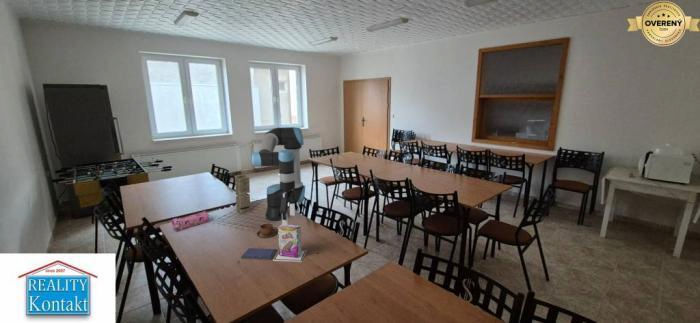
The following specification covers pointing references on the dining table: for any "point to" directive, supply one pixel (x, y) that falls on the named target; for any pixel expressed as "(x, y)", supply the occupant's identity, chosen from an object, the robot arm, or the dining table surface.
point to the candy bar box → (289, 240)
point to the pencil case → (190, 221)
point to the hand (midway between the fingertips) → (289, 220)
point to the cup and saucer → (266, 230)
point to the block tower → (242, 193)
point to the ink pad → (259, 253)
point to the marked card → (293, 259)
